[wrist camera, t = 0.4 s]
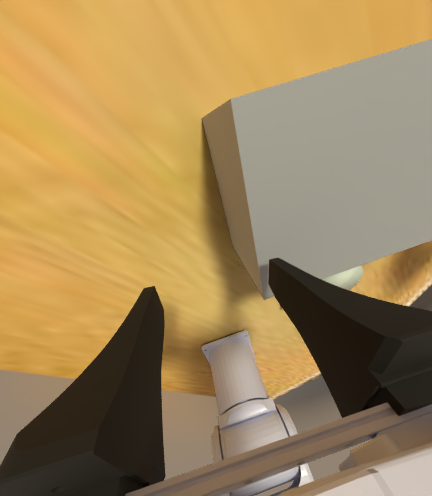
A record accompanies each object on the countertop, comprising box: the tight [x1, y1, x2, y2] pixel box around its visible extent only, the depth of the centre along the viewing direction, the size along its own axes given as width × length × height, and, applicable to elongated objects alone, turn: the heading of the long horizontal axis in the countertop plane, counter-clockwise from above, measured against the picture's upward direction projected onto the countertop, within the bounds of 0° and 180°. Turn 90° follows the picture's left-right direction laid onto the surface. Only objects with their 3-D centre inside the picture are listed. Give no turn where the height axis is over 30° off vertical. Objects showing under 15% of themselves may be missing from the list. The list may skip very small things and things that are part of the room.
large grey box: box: [202, 39, 432, 300], centre depth 16 cm, size 13×22×9 cm, turn 105°
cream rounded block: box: [322, 266, 363, 290], centre depth 24 cm, size 4×4×4 cm
